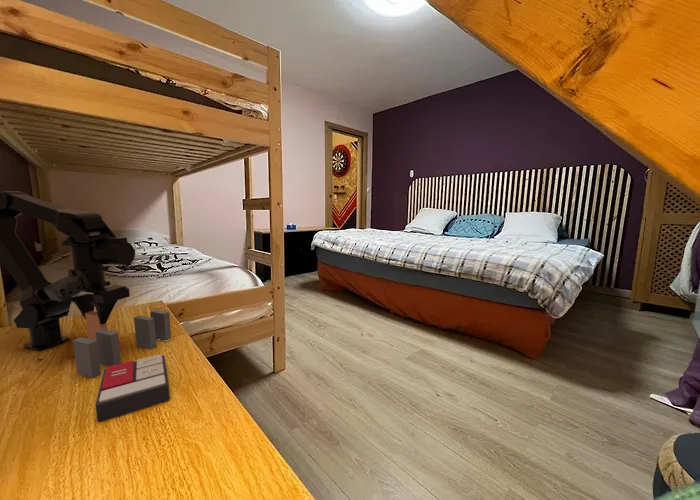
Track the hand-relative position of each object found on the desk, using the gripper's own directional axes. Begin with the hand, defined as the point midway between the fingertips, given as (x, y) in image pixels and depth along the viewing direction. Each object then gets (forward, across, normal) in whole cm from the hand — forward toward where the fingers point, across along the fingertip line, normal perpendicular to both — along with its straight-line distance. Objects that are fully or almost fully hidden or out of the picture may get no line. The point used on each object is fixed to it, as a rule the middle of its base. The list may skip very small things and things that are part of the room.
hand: (96, 322), depth 76 cm
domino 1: (+6, 0, 0) cm, 6 cm away
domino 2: (+7, +11, -9) cm, 16 cm away
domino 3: (+7, +11, -4) cm, 14 cm away
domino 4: (+7, +11, +4) cm, 14 cm away
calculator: (+8, +26, -9) cm, 28 cm away
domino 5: (+7, +11, +9) cm, 16 cm away
